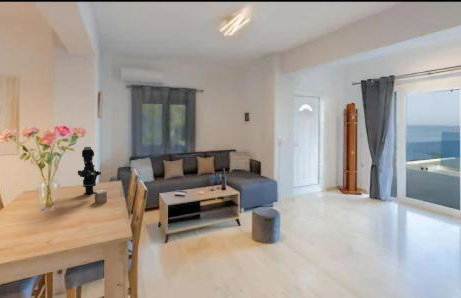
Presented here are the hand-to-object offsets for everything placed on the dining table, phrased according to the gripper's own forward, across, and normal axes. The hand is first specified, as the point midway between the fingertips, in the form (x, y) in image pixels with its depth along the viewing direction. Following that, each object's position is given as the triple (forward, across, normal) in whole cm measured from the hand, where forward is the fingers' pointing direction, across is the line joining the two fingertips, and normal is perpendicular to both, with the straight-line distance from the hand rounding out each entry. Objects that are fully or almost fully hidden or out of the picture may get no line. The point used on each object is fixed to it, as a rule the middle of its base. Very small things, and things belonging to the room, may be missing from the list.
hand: (94, 184), depth 199 cm
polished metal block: (+15, +5, +4) cm, 16 cm away
